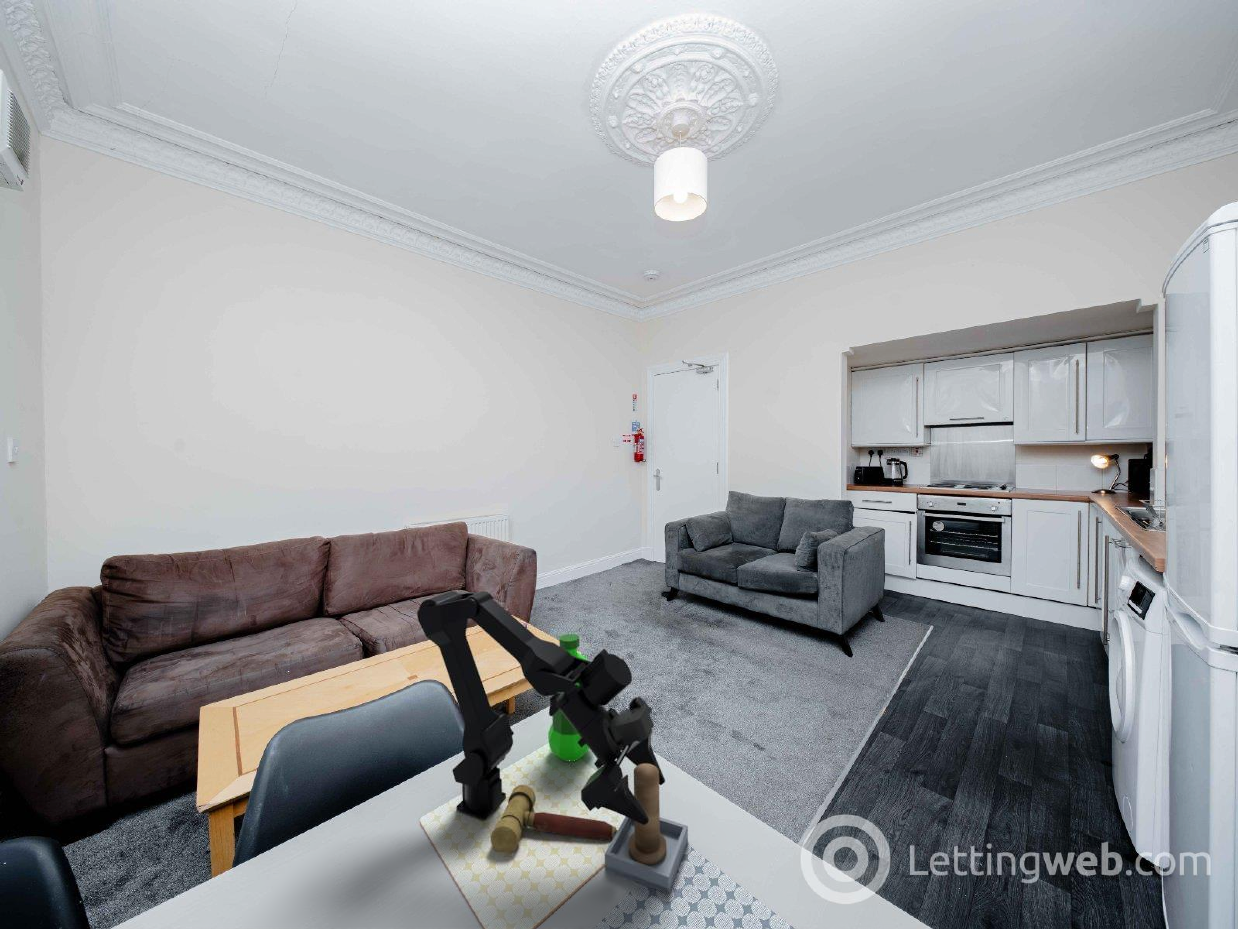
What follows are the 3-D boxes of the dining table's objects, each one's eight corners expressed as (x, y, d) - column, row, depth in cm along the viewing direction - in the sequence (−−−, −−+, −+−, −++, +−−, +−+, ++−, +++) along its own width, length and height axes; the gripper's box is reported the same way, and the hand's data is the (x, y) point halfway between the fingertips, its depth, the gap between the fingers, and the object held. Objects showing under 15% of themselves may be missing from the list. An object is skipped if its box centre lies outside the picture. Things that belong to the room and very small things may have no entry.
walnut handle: (620, 851, 74) (619, 773, 74) (644, 828, 78) (643, 754, 78) (651, 873, 70) (649, 790, 70) (673, 847, 74) (672, 770, 74)
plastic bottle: (571, 733, 107) (569, 625, 107) (605, 752, 100) (603, 636, 100) (537, 755, 100) (534, 638, 99) (571, 776, 93) (568, 651, 92)
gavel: (626, 798, 83) (619, 845, 73) (625, 823, 83) (618, 873, 73) (512, 782, 85) (490, 825, 75) (511, 807, 85) (489, 853, 75)
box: (605, 870, 72) (604, 854, 71) (630, 822, 81) (630, 808, 81) (668, 894, 67) (668, 877, 67) (687, 841, 77) (687, 826, 77)
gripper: (599, 721, 66) (676, 819, 63) (640, 666, 84) (702, 739, 80) (551, 764, 69) (621, 859, 66) (600, 702, 87) (658, 774, 83)
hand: (655, 802), depth 73 cm, fingers open, 9 cm apart
